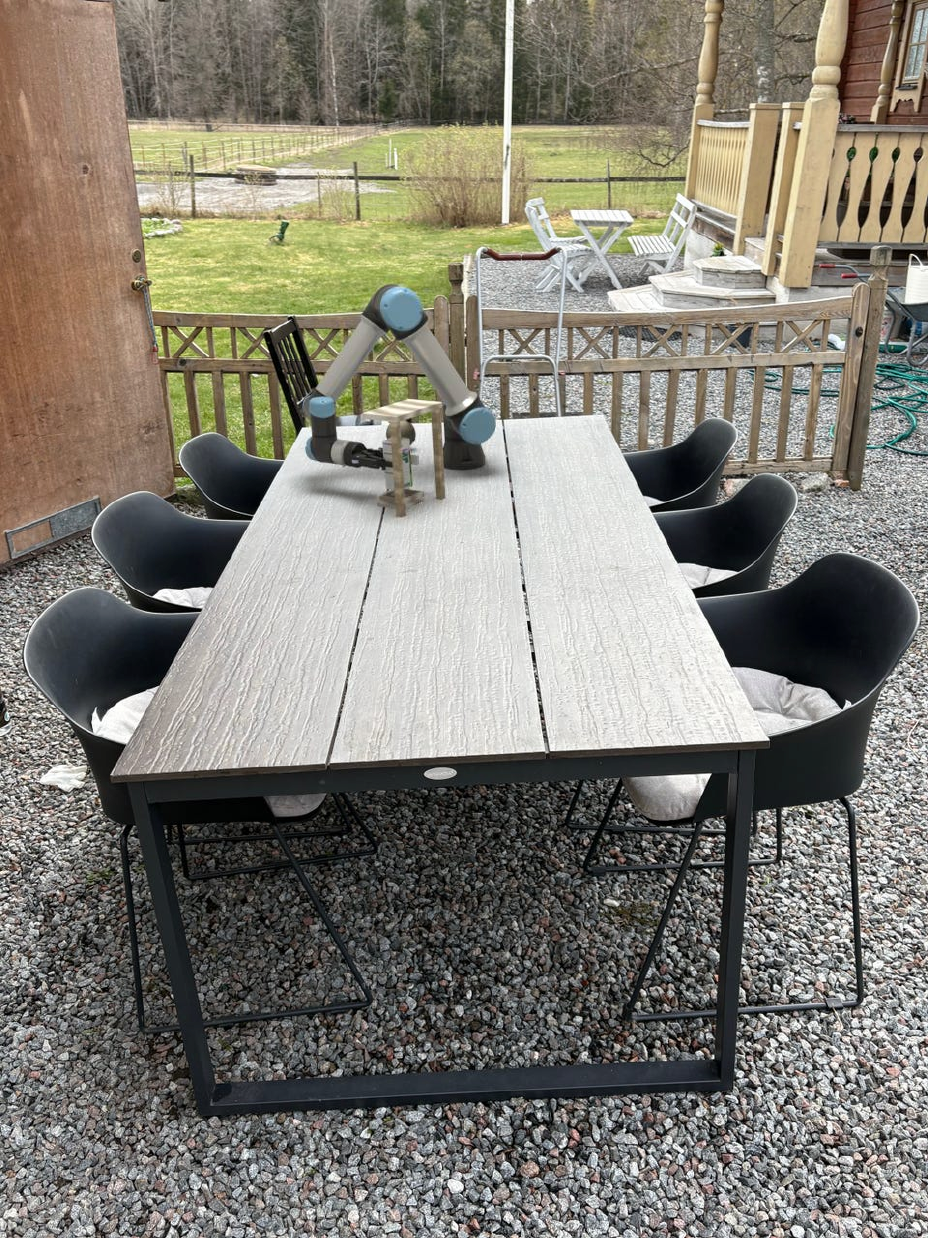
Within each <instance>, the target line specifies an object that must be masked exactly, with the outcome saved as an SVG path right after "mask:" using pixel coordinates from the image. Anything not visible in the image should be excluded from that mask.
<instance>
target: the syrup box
mask: <svg viewBox="0 0 928 1238" xmlns="http://www.w3.org/2000/svg"><path fill="white" fill-rule="evenodd" d="M381 444H382V448H383V459H385V461H386V458H390V459H392V448H391V438H390V439H387V438H386V439H383V440H382V441H381ZM401 444H402V459H403V460H404V461H405V466H406V470H405V471H403V474H404V489H410V488H412V487H413V474H412V473H413V472H412V464H411V456H410V454H411V453H410V451H411V445H410V441H409V438H405V437H401ZM384 479H385V489H388V490H389V491H390V490H394V476H393V469H390V468H386V467H385V470H384Z"/></svg>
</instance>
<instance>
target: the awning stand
mask: <svg viewBox="0 0 928 1238" xmlns="http://www.w3.org/2000/svg"><path fill="white" fill-rule="evenodd" d="M442 405H443V401H433V400H423V399H413V398H407V399H404V400H400V401H397V402H394V403H392V404H391V403H390V404H388V405H385V406H382V407H381V406H380V407H378V408H377V407H376V408H375V409H373V410H372V409H370V410H368V411H364V412H361V414H362V419H364V420H372V421H381V422H388V423H389V422H390V423H389V424H390V434H391V448H392V462H393V476H394V490H390V489H389V490H388V491H387V490H386V491H385V492H383V493H380V494H377V495H376V506H377V505H378V506H377V507H382V506H383V507H384V508H387V507H388V508H389V509H394V508H395V509H394V510H395V513H396V514H395V516H396V518H397V517H399V518H404V517H406V516H407V510H408V508H409V509H410V507H411V508H413V507H415V506H417V504H418V505H420V504H422V503H425V502H426V501H425V500H426V498H425V491H424V490H418V489H417V490H416V489H413V488H412V489H411V488H407V489H404V474H403V459H402V444H401V429H400V421H406V420H407V419H411V418H415V417H417V416H421V415H424V414H426V413H431V432H432V433H431V434H432V450H433V467H434V470H433V471H434V485H435V487H434V488H435V499H436V500H441V501H442V500H444V499H446V485H445V484H446V483H445V468H444V462H443V446H444V442H443V427H442V423H443V421H442V409H443V408H442ZM421 502H422V503H421ZM419 503H420V504H419ZM414 505H415V506H414ZM412 506H413V507H412Z"/></svg>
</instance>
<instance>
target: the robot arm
mask: <svg viewBox="0 0 928 1238" xmlns="http://www.w3.org/2000/svg"><path fill="white" fill-rule="evenodd" d="M429 321H430V318H429V316H428V315H427V313H426V311H425V310H424V308H423V303H422V301H421V299H420V297H419V296H418V295H417V293H416V292H414V290H411V289H410V288H408V287H404V286H401V285H397V284H394V283H393V284H392V283H390V284H385V285H383V286H381V287H380V288H378V289H377V290H376V291H375V293H374V294H373V295H372V297H371V298H370V300H369V302H368V303H367V305H366V306H365V308H364V310H363V311H362V312H361V314H360V322H359V323H358V325H357V326H356V328H355V329H354V330H353V332H352V333H351V335H350V336H349V338H348V339H347V341H346V343H345V344H344V345H343V347H342V349H341V350H340V352H339V353H338V354H337V356H336V358H335V359H334V360H333V362H332V363H331V365H330V366H329V368H328V370H327V371H326V372H325V374H324V375H323V377H322V378H321V380H320V382H318V384H317V385H316V387H315V389H314V390H313V392H312V393H311V395H308V396H306V397H305V398H304V399H303V402H302V412H303V414H304V416H305V417H306V418H307V419H308V421H310V429H311V436H310V437H309V438H308V439H307V440H306V442H305V444H306V446H304V447H305V449H304V451H305V455H306V457H307V458H309V460H311V461H315V462H319V463H322V464H323V463H325V464H330V465H331V464H332V465H338V466H342V468H345V467H350V468H356V469H359V468H362V467H363V468H367V469H373V470H380V469H381V471H384V470H385V467H386V468H390V469H393V462H392V459H390V458H386V461H385V459H383V447H381V446H380V447H378V448H377V449H374V448H367V446H366V445H365V444H364V443H363V442H361V441H360V442H359V441H352V440H345V439H339V438H338V433H337V432H338V431H337V422H336V406H335V405H336V403H337V402H338V400H339V399H340V397H341V396H342V394H343V393H344V391H345V390H346V388H347V387H348V385H349V384H350V383H351V381H352V380H353V378H354V377H355V375H356V373H357V372H358V371H359V369H360V368H361V366H362V365H363V363H364V362H365V361H366V359H367V358H368V356H369V355H370V353H371V352H372V350H373V349H374V348H375V346H376V345H377V343H378V341H379V340H380V339H381V337H382V336H385V335H387V334H388V333H389V332H391V335H393V338H394V339H395V340H396V342H400V343H403V344H404V345H405V346H406V348H407V350H408V351H409V352H410V354H411V355H412V357H413V359H414V360H415V362H416V363H417V364H418V366H419V368H420V369H421V370H422V372H423V373H424V375H425V377H426V379H427V380H428V381H429V383H430V384H431V385H432V387H433V388H434V391H435V392H436V393H437V395H438V396H439V398H440V400H441V402H442V408H441V409H442V416H443V417H442V418H443V419H442V420H443V421H442V423H443V436H444V438H443V439H444V440H443V441H444V442H443V462H444V469H448V470H449V469H450V470H471V469H477V468H480V467H483V466H484V465H486V462H487V459H486V455H485V452H484V449H483V446H482V444H484V443H486V442H488V440H490V439H491V438H492V436H493V435H494V434H495V430H496V428H497V427H496V426H497V424H496V422H497V421H496V418H495V416H494V414H493V412H492V411H491V410H490V409H489V408H487V407H486V405H485V404H484V402H483V401H482V400H481V398H480V396H479V395H478V393H477V392H476V391H471V390H469V388H468V387H467V385H466V384H465V381H464V380H463V379H462V378H461V375H460V374H459V373H458V371H457V370H456V368H455V367H454V365H453V363H452V361H451V360H450V358H449V357H448V355H447V354H446V352H445V351H444V349H443V348H442V346H441V344H440V342H439V341H438V340H437V338H436V337H435V336H434V334H433V332H432V330H431V328H429ZM410 456H411V466H412V465H413V466H420V455H418V454H417V455H416V454H411V453H410ZM405 470H406V466H405V461H404V460H403V471H405ZM384 472H385V471H384Z"/></svg>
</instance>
